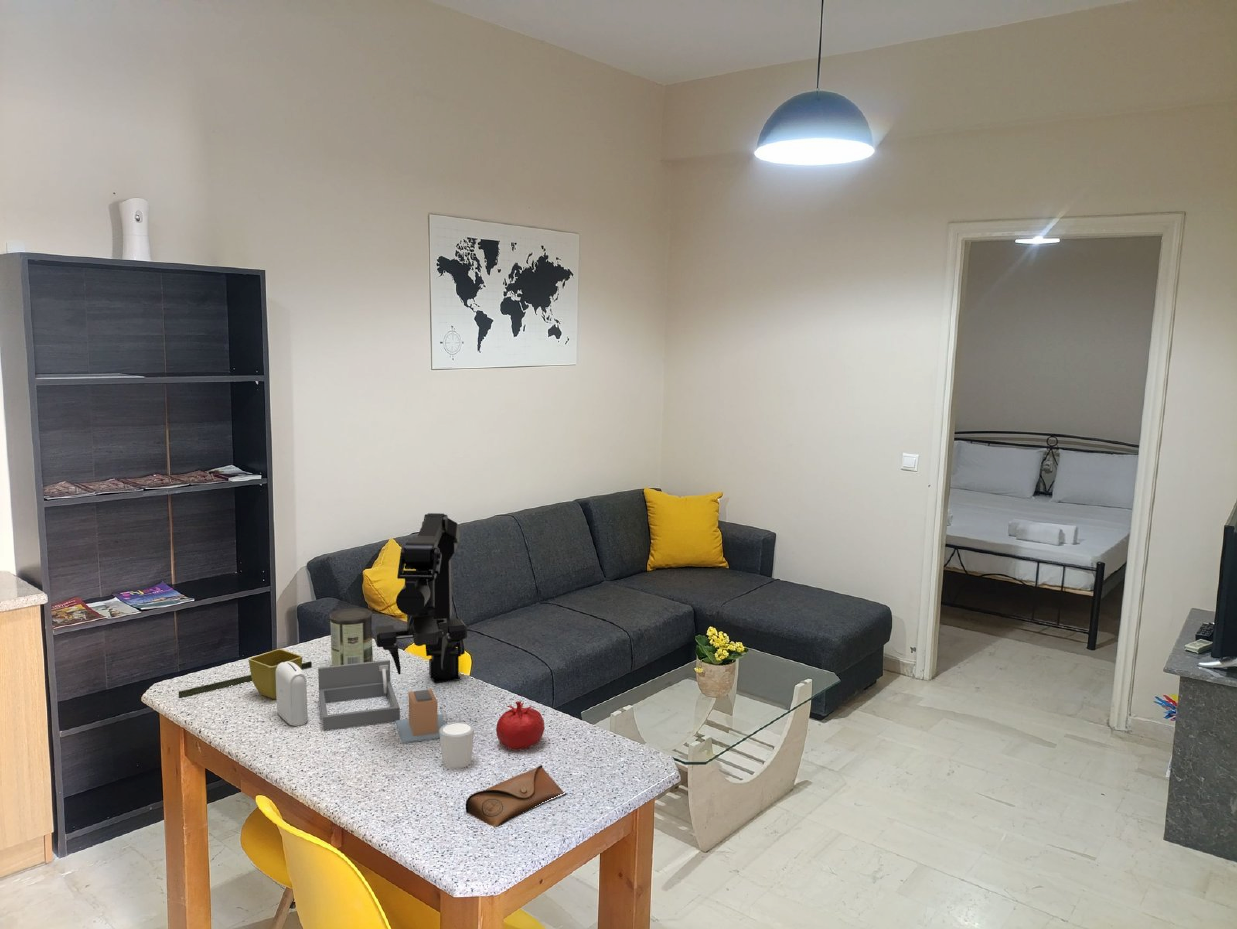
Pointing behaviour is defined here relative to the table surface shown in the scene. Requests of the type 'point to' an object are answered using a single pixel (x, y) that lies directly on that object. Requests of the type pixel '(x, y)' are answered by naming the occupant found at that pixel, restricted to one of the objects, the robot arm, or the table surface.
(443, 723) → the mat
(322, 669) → the grey open frame
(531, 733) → the pomegranate
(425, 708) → the block
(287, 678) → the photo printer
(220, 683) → the rod
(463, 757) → the white cup
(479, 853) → the table surface
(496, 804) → the sunglasses case
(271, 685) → the flower pot
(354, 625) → the coffee can
